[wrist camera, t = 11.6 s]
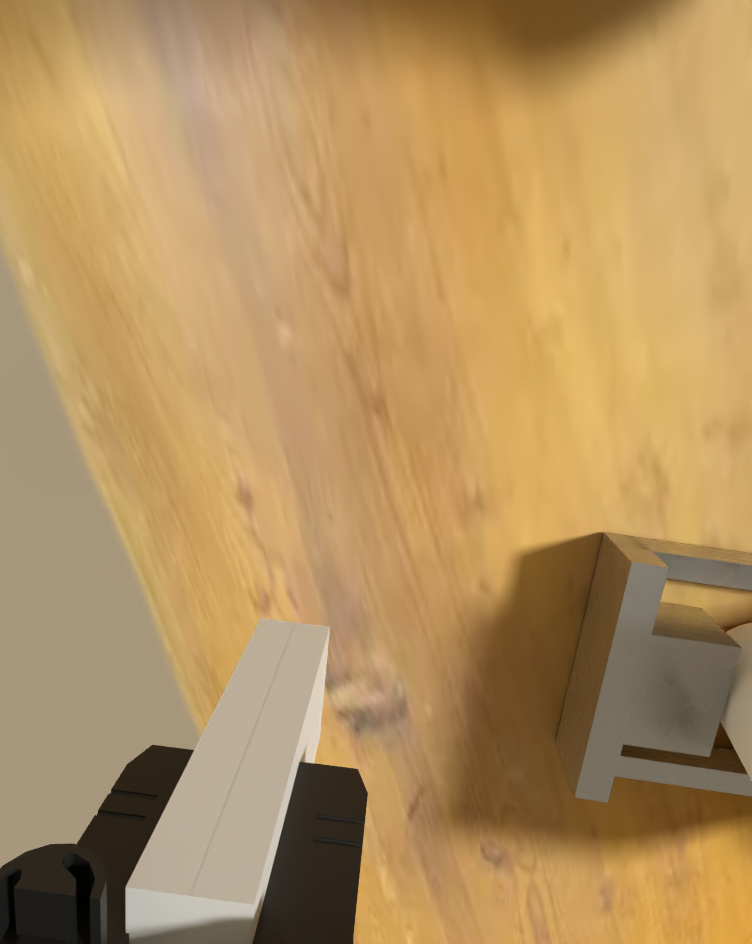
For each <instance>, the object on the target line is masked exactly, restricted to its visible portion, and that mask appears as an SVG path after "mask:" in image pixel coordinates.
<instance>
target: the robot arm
mask: <svg viewBox="0 0 752 944" xmlns="http://www.w3.org/2000/svg"><path fill="white" fill-rule="evenodd" d="M329 630H330V627H329V626H321V625H313V624H304V623H296V622H288V621H280V620H271V619H263V618H260V620H259V622H258V624H257V626H256V628H255V630H254V632H253V634H252V636H251V638H250V640H249V642H248V644H247V646H246V648H245V650H244V652H243V654H242V656H241V658H240V660H239V662H238V664H237V666H236V668H235V670H234V672H233V674H232V676H231V678H230V680H229V682H228V684H227V686H226V688H225V690H224V692H223V694H222V696H221V698H220V700H219V702H218V704H217V706H216V708H215V710H214V712H213V714H212V716H211V718H210V720H209V722H208V724H207V726H206V728H205V730H204V732H203V734H202V736H201V738H200V740H199V742H198V744H197V746H196V748H195V750H188V749H181V748H173V747H165V746H157V745H152V746H150V747H149V748H148V749H146V750H145V751H144V752H143V753H142V754H140V755H139V756H137V757H136V758H135V759H134V760H132V761H131V762H130V763H128V764H127V765H126V767H125V769H124V770H123V772H122V774H121V775H120V777H119V778H118V780H117V781H116V783H115V785H114V786H113V788H112V789H111V793H110V794H108V796H107V797H106V799H105V800H104V802H103V803H102V805H101V807H100V808H99V810H98V814H97V816H96V815H95V816H94V818H93V819H92V821H91V822H90V824H89V825H88V827H87V829H86V830H85V832H84V833H83V835H82V837H81V838H80V840H79V841H78V843H77V844H50V845H46V846H43V847H40V848H37V849H34V850H30V851H27V852H25V853H23V854H22V855H20V856H18V857H17V858H15V859H13V860H12V861H10V862H8V863H6V864H5V865H3V866H2V867H1V868H0V944H353V934H354V924H355V914H356V904H357V894H358V884H359V874H360V864H361V854H362V844H363V835H364V824H365V815H366V805H367V795H368V793H367V790H366V788H365V786H364V783H363V781H362V778H361V776H360V773H359V771H358V769H353V768H345V767H338V766H330V765H322V764H314V761H315V756H316V752H317V748H318V743H319V739H320V732H321V720H322V709H323V698H324V686H325V675H326V664H327V653H328V641H329Z"/></svg>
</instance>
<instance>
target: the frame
mask: <svg viewBox="0 0 752 944" xmlns="http://www.w3.org/2000/svg"><path fill="white" fill-rule="evenodd" d="M666 578H668V579H675V580H682V581H689V582H695V583H702V584H709V585H716V586H723V587H730V588H737V589H744V590H751V591H752V553H745V552H738V551H731V550H724V549H717V548H710V547H703V546H696V545H689V544H682V543H675V542H668V541H661V540H654V539H647V538H640V537H633V536H626V535H619V534H612V533H605V532H604V534H603V538H602V543H601V547H600V551H599V556H598V560H597V564H596V569H595V573H594V577H593V582H592V586H591V590H590V595H589V599H588V603H587V608H586V612H585V616H584V621H583V625H582V629H581V634H580V638H579V642H578V647H577V651H576V655H575V660H574V664H573V668H572V673H571V677H570V682H569V686H568V690H567V695H566V699H565V703H564V708H563V712H562V716H561V721H560V725H559V729H558V734H557V738H556V742H555V744H556V747H557V750H558V753H559V756H560V758H561V761H562V764H563V767H564V770H565V772H566V775H567V778H568V781H569V784H570V787H571V789H572V792H573V795H574V798H580V799H586V800H593V801H600V802H607V803H608V801H609V797H610V793H611V789H612V785H613V782H614V778H615V777H622V778H629V779H636V780H643V781H649V782H656V783H663V784H670V785H677V786H683V787H690V788H697V789H704V790H710V791H717V792H724V793H731V794H738V795H744V796H751V797H752V781H751V779H750V777H749V775H748V773H747V771H746V769H745V768H744V766H743V764H742V762H741V760H740V758H739V756H738V754H737V752H736V750H734V749H728V748H721V747H714V746H713V743H714V740H715V737H716V733H717V730H718V727H719V723H720V720H721V716H722V713H723V710H724V706H725V703H726V700H727V696H728V693H729V690H730V686H731V683H732V680H733V676H734V673H735V669H736V666H737V663H738V659H739V656H740V653H741V649H742V647H741V646H740V645H738V644H737V643H736V642H735V641H734V640H733V639H732V638H731V637H730V636H729V635H728V634H727V633H726V632H725V631H724V630H723V629H722V628H721V627H720V626H719V625H718V624H717V623H716V622H715V621H714V620H713V619H712V618H711V617H710V616H709V615H708V614H707V613H706V612H704V611H703V610H702V609H701V608H696V607H689V606H682V605H675V604H668V603H661V602H660V600H661V596H662V593H663V589H664V585H665V581H666Z"/></svg>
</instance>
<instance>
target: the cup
mask: <svg viewBox="0 0 752 944" xmlns="http://www.w3.org/2000/svg"><path fill="white" fill-rule="evenodd" d="M726 633H727V634H728V635H729V636H730V637H731V638H732V639H733V640H734V641H735V642H736V643H737V644H738V645H740V646H741V647H742V649H741V653H740V656H739V659H738V663H737V666H736V669H735V673H734V676H733V680H732V683H731V686H730V690H729V693H728V696H727V700H726V703H725V706H724V710H723V713H722V716H721V720H720V722H721V724H722V726H723V728H724V729H725V731H726V733H727V735H728V737H729V739H730V741H731V743H732V745H733V747H734V748H735V750H736V752H737V754H738V756H739V758H740V760H741V762H742V764H743V766H744V768H745V769H746V771H747V773H748V775H749V777H750V779H751V781H752V623H747V624H743V625H739V626H737V627H734V628H732V629H730V630H728V631H727V632H726Z"/></svg>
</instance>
